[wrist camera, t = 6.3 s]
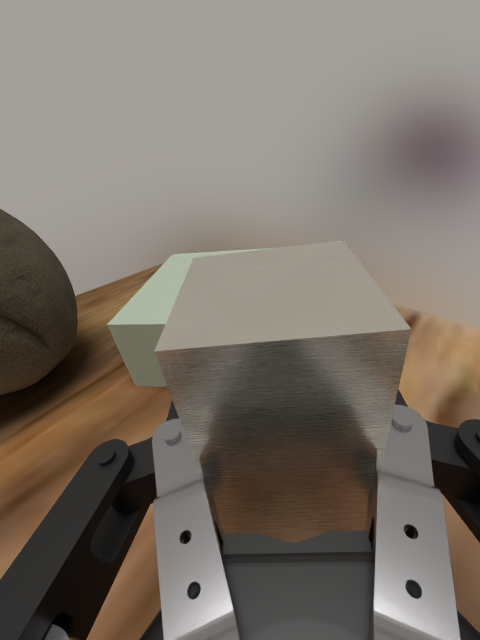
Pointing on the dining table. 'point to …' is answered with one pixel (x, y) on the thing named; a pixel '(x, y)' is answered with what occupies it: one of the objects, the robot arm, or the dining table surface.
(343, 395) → the tea tin
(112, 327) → the green box
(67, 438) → the dining table surface
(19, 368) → the brown coconut
